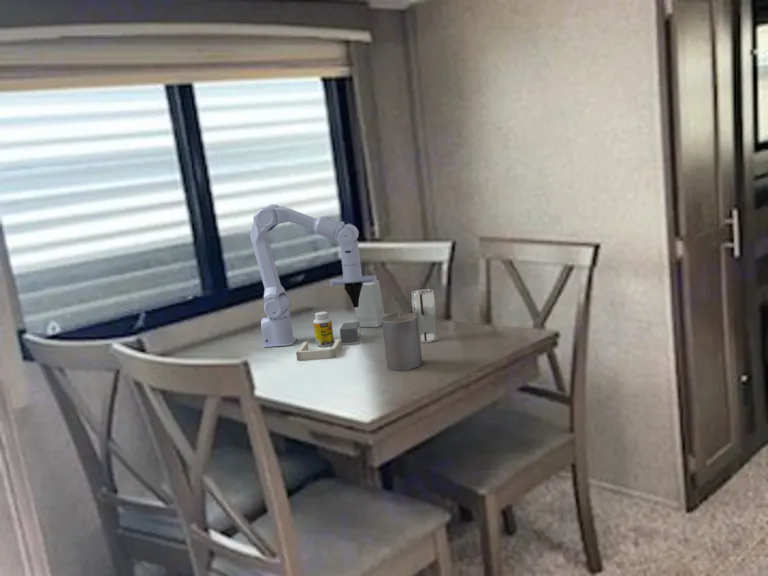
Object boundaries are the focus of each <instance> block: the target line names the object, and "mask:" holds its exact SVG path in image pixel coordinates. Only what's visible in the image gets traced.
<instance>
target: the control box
mask: <svg viewBox="0 0 768 576" xmlns="http://www.w3.org/2000/svg"><path fill="white" fill-rule="evenodd" d="M339 335H340V340H341V347H342V346H343V347H344V346H354V345H355V346H356V345H360V343H361V341H362V339H363V337H364V334H361V327H360V324H359V322H357V321H351V322H343V323H342V325H341V326H340V329H339Z"/></svg>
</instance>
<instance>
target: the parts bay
mask: <svg viewBox="0 0 768 576" xmlns="http://www.w3.org/2000/svg"><path fill="white" fill-rule="evenodd" d="M341 348H342V346H341V338H339V339H335V340H334V343H333V344H332V345H331V348H322V349H310V348H309V341H303V343H301V345H300V347H299V348H298V349H297V350H296V352H295V353H296V361H298V360H299V361H311V360H322V359H335V358H337V355H338V354H339V352H340V350H341Z"/></svg>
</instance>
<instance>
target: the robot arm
mask: <svg viewBox="0 0 768 576" xmlns="http://www.w3.org/2000/svg"><path fill="white" fill-rule="evenodd" d="M252 221H253V222H252V225H251V229H250V235H249V237H250V241H251V244H252V248H253V251H254V255H255V258H256V264H257V267H258V269H259V273H260V278H261V280H262V284H263V288H264V291H263V300H264V304H263V311H264V314H265V315H266V316H267V317H262V318H261V321H260V329H261V336H262V343H263V345H262V348H272V347H283V346H285V347H286V346H293V344H294V343H295V342H296V340H297V339H298V337H296V336H294V332H293V325H292V324H293V323H292V316H291V313H290V311H289V309H290V308H291V303H292V301H291V298H290V296H289V295H288V294H287V293H286V290H285V288H284V287H283V286H282V284H281V280H280V277H279V272H278V269H277V265H276V263H275V258H274V255H273V251H272V248H271V244H270V240H269V236H270V234H271V233H272V231H273V229H275V227H277V226H278V225H280V224H285V223H293V224H295V225H299V226H302V227H306V228H309V229H313V231H314V232H315V234H316V235H318V236H322V237H325V238H328V239H331V240H333V241H337V242H338V243H339V247H340V251H339V252H340V258H341V267H342V268H341V269H342V276H343V277H338V278H337V277H336V278H331V279H329V286H330V287H334V286H335V287H336V286H344V290H345V292H346V293H347V295H348V297H349V298H350V302H351V304H352V306H353V308H355V307H358V306H359V296H360V292H361V288H362V285H363V283H372V282H373V283H376V282H377V279H378V278H377V275H362V274H363V273H362V267H361V266H362V265H361V257H360V248H359V243H358V241H359V240H358V238H359V234H360V231H359V230H358V228H357V227H356V226H355V225H354V224H352V223H346V224H345V221H341V222H339V221H337V220H333V219H331V217H330V216H329V215H326V216H325V217H324V216H321V217H318V218H315V217H312V216H310V215H307V214H305V213H302V212H300V211H297V210H294V209H292V208H289V207H287V206H283V205H281V206H280V205H278V204H270V205H268V206H265V207H261V208H260V209H258V210H257V212H256V213H255V214H254V216H253V220H252Z"/></svg>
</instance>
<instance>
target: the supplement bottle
mask: <svg viewBox="0 0 768 576" xmlns="http://www.w3.org/2000/svg"><path fill="white" fill-rule="evenodd" d="M332 323H333V322H332V319H331V318H330V317H329V314H328V312H327V311H318V312H316V313H315V314H314V319H313V329H314V336H315V344H316V346H317V347H321V348H322V347H323V348H324V347H325V348H326V347H330V346H333V344H334V343H335V339H334V333H333V325H332Z"/></svg>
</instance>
